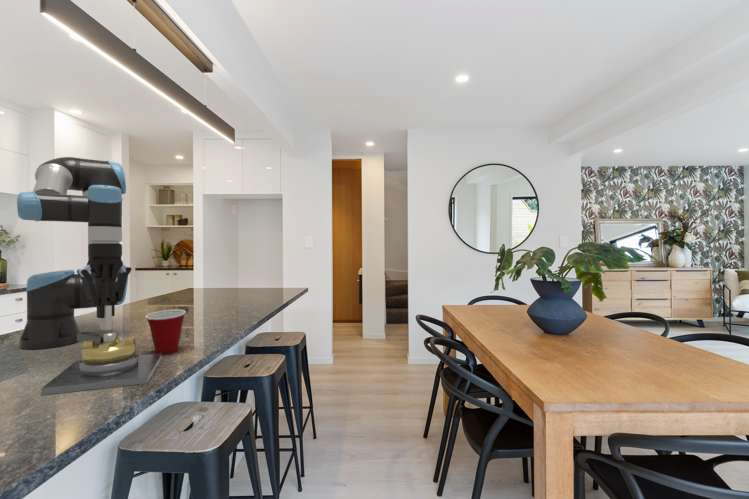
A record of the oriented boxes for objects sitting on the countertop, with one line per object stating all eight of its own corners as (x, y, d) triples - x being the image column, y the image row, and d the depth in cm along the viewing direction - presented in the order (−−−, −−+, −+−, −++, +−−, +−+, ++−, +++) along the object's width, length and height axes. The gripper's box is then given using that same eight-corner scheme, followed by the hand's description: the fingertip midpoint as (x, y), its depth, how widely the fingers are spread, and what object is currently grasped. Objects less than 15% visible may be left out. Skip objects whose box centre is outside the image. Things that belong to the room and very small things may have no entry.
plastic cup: (136, 354, 110) (136, 314, 109) (167, 345, 120) (167, 308, 120) (163, 359, 106) (163, 317, 106) (193, 349, 116) (194, 310, 116)
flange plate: (76, 366, 99) (76, 351, 99) (162, 358, 106) (162, 344, 106) (41, 395, 80) (41, 376, 80) (147, 383, 88) (147, 366, 88)
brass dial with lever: (145, 354, 96) (145, 331, 96) (99, 367, 86) (99, 341, 86) (103, 346, 103) (103, 324, 103) (56, 357, 93) (56, 333, 93)
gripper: (121, 243, 109) (121, 323, 109) (69, 242, 97) (70, 333, 97) (138, 243, 106) (138, 325, 106) (87, 242, 94) (87, 335, 94)
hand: (105, 329), depth 101 cm, fingers closed
